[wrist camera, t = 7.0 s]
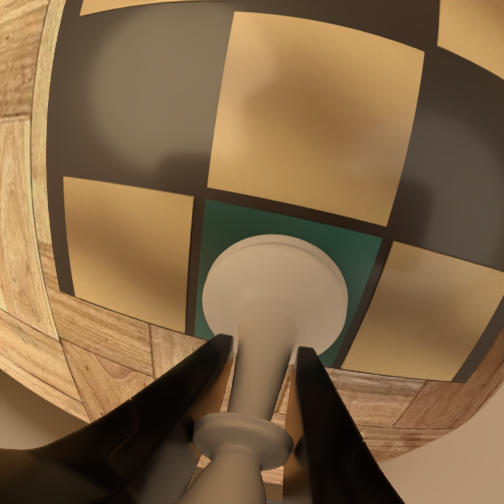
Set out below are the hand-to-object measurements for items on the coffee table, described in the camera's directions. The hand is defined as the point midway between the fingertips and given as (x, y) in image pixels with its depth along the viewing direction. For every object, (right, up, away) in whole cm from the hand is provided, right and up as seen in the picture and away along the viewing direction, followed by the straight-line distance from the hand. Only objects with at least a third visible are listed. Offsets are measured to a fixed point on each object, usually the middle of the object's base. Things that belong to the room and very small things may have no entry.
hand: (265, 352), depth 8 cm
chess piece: (0, +1, +3) cm, 3 cm away
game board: (+3, +17, -4) cm, 18 cm away
